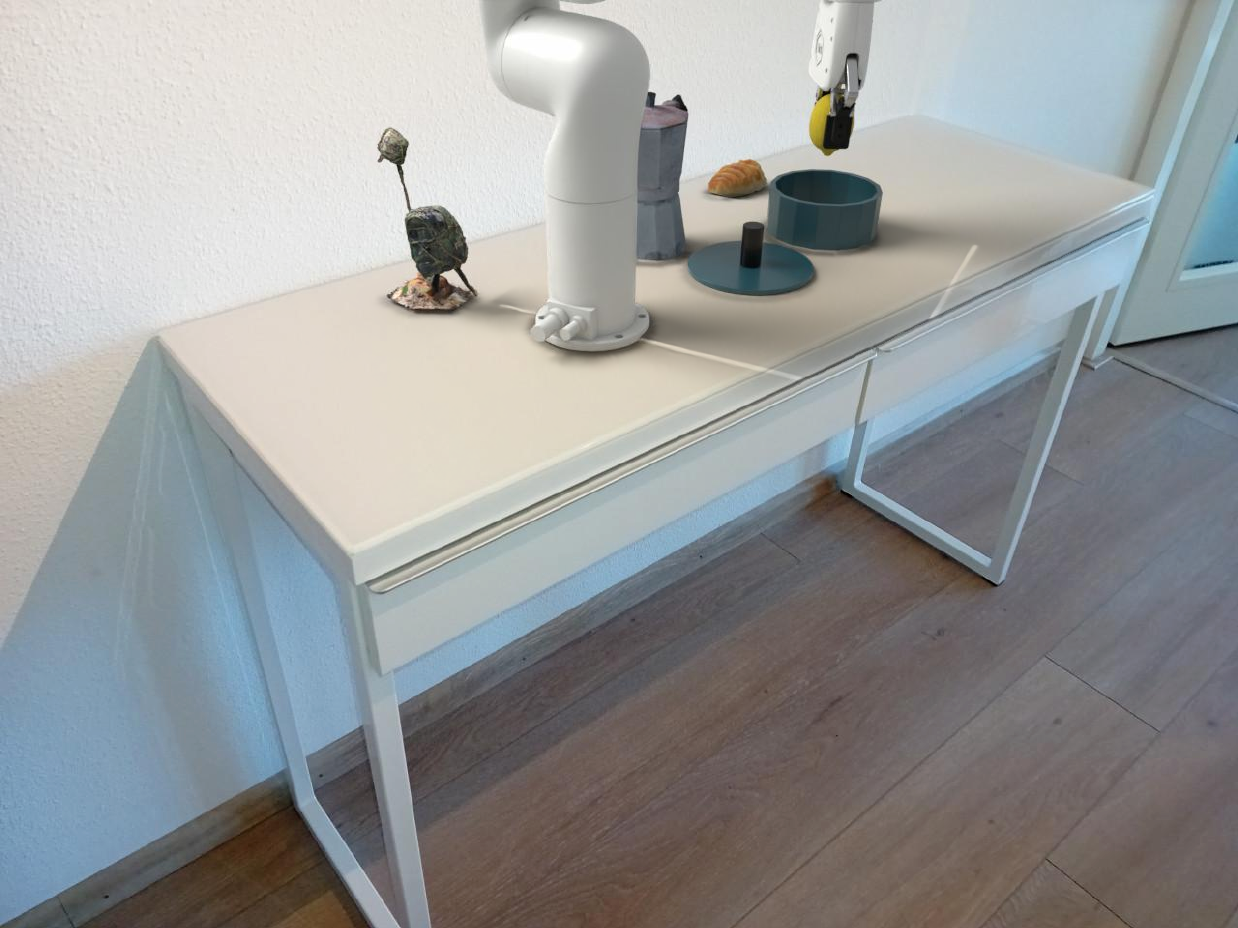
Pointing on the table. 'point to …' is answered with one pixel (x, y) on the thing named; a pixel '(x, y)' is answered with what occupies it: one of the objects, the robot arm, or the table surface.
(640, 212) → the moka pot
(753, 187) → the pastry
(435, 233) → the stone sculpture
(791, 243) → the pot
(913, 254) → the table surface
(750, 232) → the lid
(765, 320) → the table surface
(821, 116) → the lemon
